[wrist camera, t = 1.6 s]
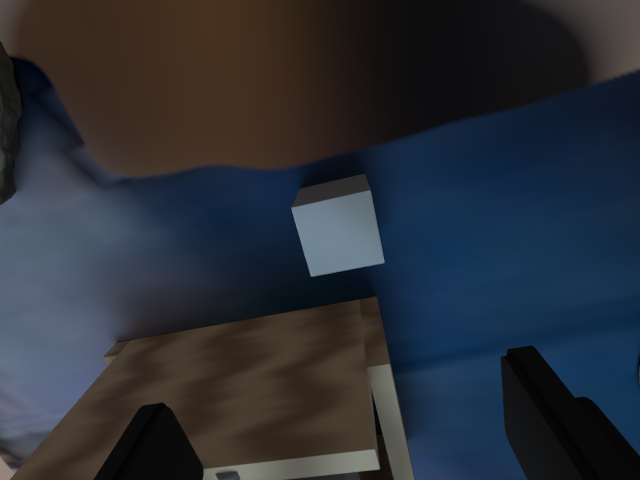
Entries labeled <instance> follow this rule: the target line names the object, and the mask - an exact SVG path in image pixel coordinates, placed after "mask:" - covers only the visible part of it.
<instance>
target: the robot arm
mask: <svg viewBox="0 0 640 480" xmlns="http://www.w3.org/2000/svg"><path fill="white" fill-rule="evenodd" d="M501 372H502V388H503V405H504V422H505V431H506V435H507V438H508V441H509V443H510V445H511V447H512V449H513V451H514V453H515V455H516V457H517V459H518V461H519V463H520V465H521V467H522V469H523V471H524V473H525V475H526V477H527V479H528V480H640V456H639V455H638V454H637V452H636V451H635V450H634V449H633V448H632V446H631V445H630V444H629V443H628V442H627V441H626V439H625V438H624V437H623V436H622V435H621V433H620V432H619V431H618V430H617V429H616V428H615V426H614V425H613V424H612V423H611V422H610V420H609V419H608V418H607V417H606V416H605V415H604V413H603V412H602V411H601V410H600V409H599V407H598V406H597V405H596V404H595V403H594V402H593V401H592V400H590V399H588V398H587V397H577V398H575V397H574V396H573V395H572V394H571V392H570V391H569V390H568V389H567V387H566V386H565V385H564V384H563V382H562V381H561V380H560V379H559V377H558V376H557V375H556V373H555V372H554V371H553V370H552V368H551V367H550V366H549V365H548V363H547V362H546V361H545V360H544V358H543V357H542V356H541V355H540V353H539V352H538V351H537V350H536V349H535V348H534V347H533V346H526V347H520V348H513V349H508V350H507V356H502V357H501ZM638 373H639V383H640V367H639V372H638ZM203 476H204V469H203V465H202V463H201V461H200V460H199V458H198V456H197V454H196V452H195V451H194V449H193V447H192V445H191V443H190V442H189V440H188V438H187V436H186V434H185V432H184V431H183V429H182V427H181V425H180V423H179V422H178V420H177V418H176V416H175V414H174V413H173V411H172V409H171V408H170V407H167V406H166V404H165V403H163V402H162V403H155V404H148V405H143V406H141V407H140V408H139V409H138V411H137V412H136V414H135V415H134V417H133V418H132V420H131V422H130V423H129V425H128V426H127V428H126V429H125V431H124V432H123V434H122V436H121V437H120V439H119V440H118V442H117V443H116V445H115V446H114V448H113V450H112V451H111V453H110V454H109V456H108V457H107V459H106V461H105V462H104V464H103V465H102V467H101V468H100V470H99V471H98V473H97V475H96V476H95V478H94V479H93V480H203Z"/></svg>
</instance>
